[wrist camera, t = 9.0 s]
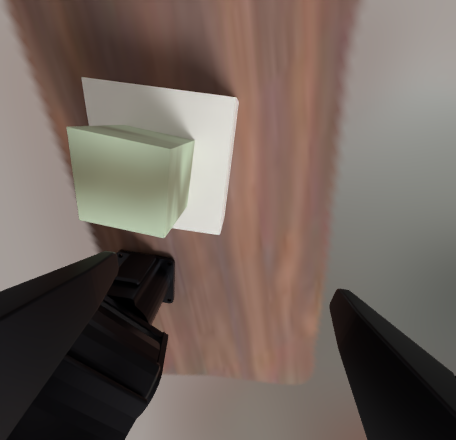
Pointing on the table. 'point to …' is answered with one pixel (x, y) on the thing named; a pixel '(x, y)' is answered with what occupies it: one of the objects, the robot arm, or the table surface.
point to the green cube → (130, 177)
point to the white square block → (182, 127)
